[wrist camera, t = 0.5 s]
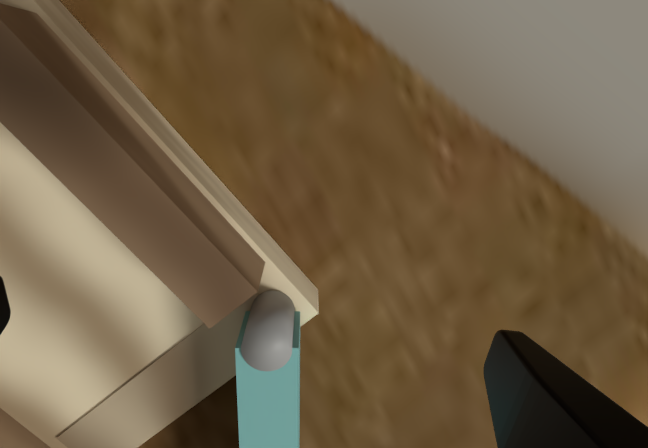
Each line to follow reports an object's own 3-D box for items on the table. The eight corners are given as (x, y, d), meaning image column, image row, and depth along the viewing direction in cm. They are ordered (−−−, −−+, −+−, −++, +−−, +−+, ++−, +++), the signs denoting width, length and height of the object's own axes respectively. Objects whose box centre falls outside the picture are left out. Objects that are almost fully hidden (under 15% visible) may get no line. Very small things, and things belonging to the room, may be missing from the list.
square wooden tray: (79, 467, 26) (20, 564, 21) (-204, 244, 21) (-370, 295, 16) (318, 289, 23) (320, 349, 18) (47, -12, 19) (-56, -52, 13)
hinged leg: (245, 290, 20) (233, 326, 17) (300, 290, 20) (298, 326, 17) (253, 523, 24) (244, 586, 21) (298, 523, 24) (297, 585, 21)
